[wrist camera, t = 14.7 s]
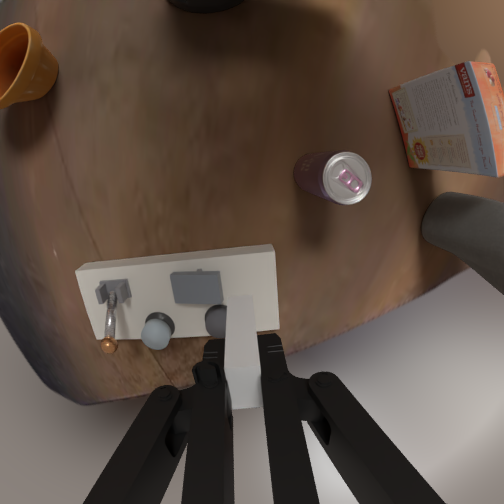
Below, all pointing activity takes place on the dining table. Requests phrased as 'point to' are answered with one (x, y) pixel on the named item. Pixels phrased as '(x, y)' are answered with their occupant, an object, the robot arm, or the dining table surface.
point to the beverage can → (334, 176)
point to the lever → (110, 325)
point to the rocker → (197, 287)
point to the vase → (469, 232)
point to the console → (161, 294)
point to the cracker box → (453, 119)
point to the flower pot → (24, 65)
